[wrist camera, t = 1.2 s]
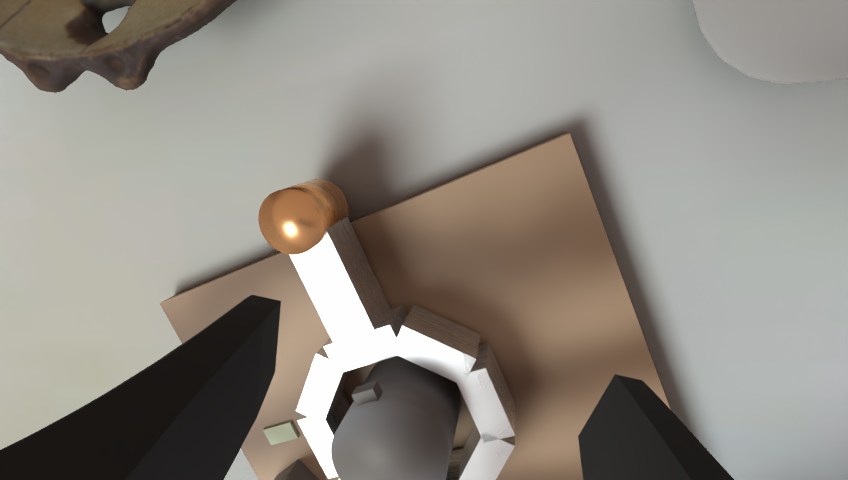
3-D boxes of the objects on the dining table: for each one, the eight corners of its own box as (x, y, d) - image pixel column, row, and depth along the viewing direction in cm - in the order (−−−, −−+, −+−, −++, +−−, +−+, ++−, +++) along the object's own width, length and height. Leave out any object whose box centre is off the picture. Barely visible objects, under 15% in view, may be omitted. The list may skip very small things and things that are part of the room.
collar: (538, 457, 22) (541, 509, 19) (368, 493, 24) (349, 544, 21) (401, 139, 19) (380, 142, 16) (227, 218, 22) (183, 234, 19)
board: (696, 486, 22) (752, 603, 16) (315, 553, 28) (269, 654, 23) (567, 132, 19) (585, 138, 13) (173, 296, 25) (82, 343, 20)
